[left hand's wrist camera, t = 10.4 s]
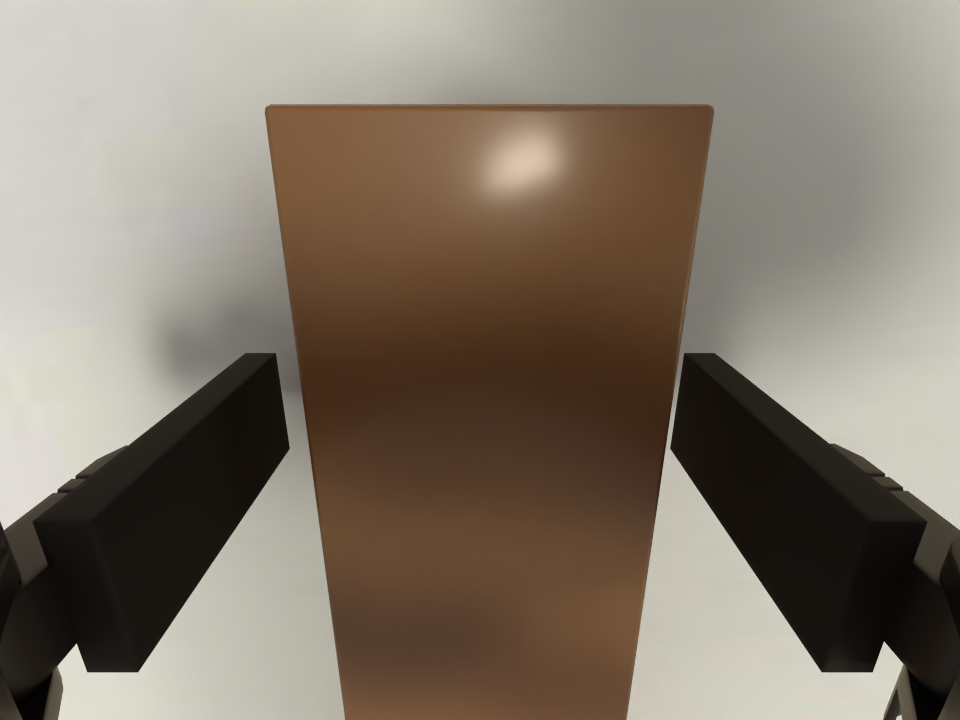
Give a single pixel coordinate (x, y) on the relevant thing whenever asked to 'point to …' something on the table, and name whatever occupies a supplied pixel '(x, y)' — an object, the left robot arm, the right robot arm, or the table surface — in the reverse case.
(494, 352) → the post
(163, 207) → the table surface
